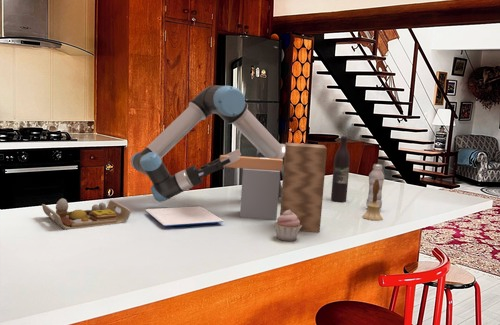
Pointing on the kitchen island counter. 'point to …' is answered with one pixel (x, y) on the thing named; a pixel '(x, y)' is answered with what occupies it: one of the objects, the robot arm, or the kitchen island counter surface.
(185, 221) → the plate
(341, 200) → the wine bottle
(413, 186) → the kitchen island counter surface
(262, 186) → the grey rectangular block
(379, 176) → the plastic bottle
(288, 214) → the cupcake
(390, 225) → the kitchen island counter surface
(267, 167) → the bar
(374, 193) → the hand bell
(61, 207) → the toy food set
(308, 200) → the tall wooden block
